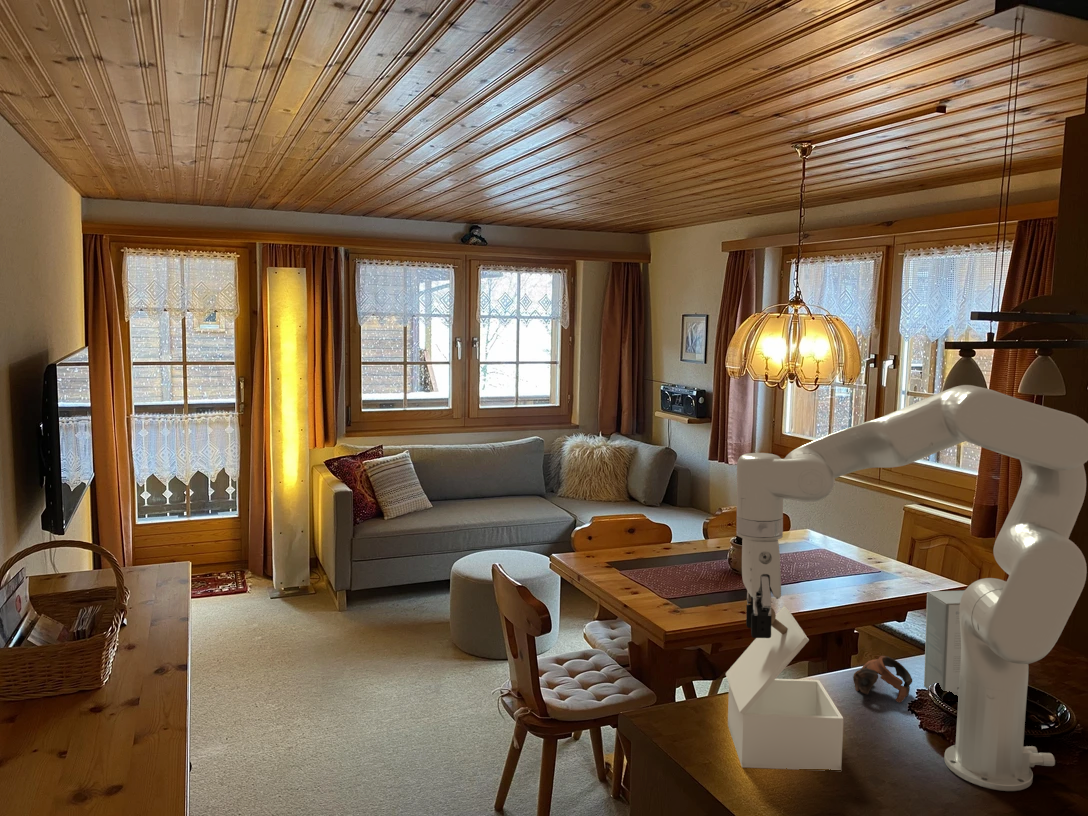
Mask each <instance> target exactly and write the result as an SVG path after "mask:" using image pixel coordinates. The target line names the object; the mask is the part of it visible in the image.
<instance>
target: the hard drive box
mask: <svg viewBox="0 0 1088 816" xmlns="http://www.w3.org/2000/svg"><path fill="white" fill-rule="evenodd" d="M965 590H966V589H964V590H940V591H939V590H936V591H933V590H932V591H926V610H925V611H926V615H925V616H926V618H925V641H924V642H925V646H924V647H925V649H924V650H925V651H924V674H923V675H924V677H923V687H925V688H926V689H927V688H929V686H930V685H932V684H933V683H939V685H940V687H941V689H942V690H943V691H947V692H949V691H950V692H952V693H953V694H954V695H957V696H959V678H960V665H961V632H960V619H959V607H960V601H961V598H962V595H963V593H964V591H965Z"/></svg>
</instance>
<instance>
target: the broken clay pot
mask: <svg viewBox="0 0 1088 816" xmlns="http://www.w3.org/2000/svg"><path fill="white" fill-rule="evenodd" d="M887 667H889V668H894V670H895V672H896V674H895V675H894V674H893V673H892V672H891V671H890V670H889V669H888V668H887ZM879 675H880V677H879ZM852 677H853V678H852V680H853V683H854V690H855V691H856V692H857V691H860V692H861V693H862V694H863V695H864V694H865V695H869V694H870V691H871V689H872V687H873V686H874V684H876V683H877V682H878V679H879V678H880V679H881V680H882V681H884V682H885V683H886V684H887V685H890V686H892V687H893V688H894V689H896V690H898V694H897V696H896V698H895V702H897V703H899V704H900V703H902V702H903V701H904V700H905V698H907V697H908V695H909V694H910V690H911V689H910V685H912V683H913V678H912V676H911V674H910V672H909V671H908V670H907V668H906V667H905V666H903V665H902V663H900V662H898V660H896V659H894V658H892V657H890V656H888V655H881V656H879V657H878V658H874V659H870V660H868V661H867V662H865V663H864V665H863V666H862V667H861V668H860V669H858V670H856V671H855V672H854V674H853V676H852ZM899 677H901V678H899Z"/></svg>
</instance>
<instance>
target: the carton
mask: <svg viewBox="0 0 1088 816" xmlns="http://www.w3.org/2000/svg"><path fill="white" fill-rule="evenodd" d="M727 700H728V707H727V709H728V710H727V726H728V730H729V733H730V736H731V739H732V742H733V744H734V747H735V750H736V754H737V757H738V760H739V763H740V766H741V768H749V769H750V768H751V769H772V770H773V769H774V770H775V769H778V770H799V769H829V770H830V769H831V770H841V771H842V760H843V738H844V737H843V735H844V717H843V715H842V714H841V713H840V710H839V709H838V708H837V706H836V705H835V703H834V701H833V699H832V698H831V696H830V695H829V693H828V691H827V689H825V687H824V685H823V684H822V682H821V681H820V679H795V678H794V679H792V678H776V679H775V680H774V681H773V682H772V683H771V684H770V685H769V687H768V688H767V689H766V690H765V691H764V692H763V693H762V695H761V696H760V697H759V698H758V699H757V700H756V701H755V703H754V704H753V705H752V706H751V707H750V708H749V709H748V711H747V712H746V713H745V714H744V715H743V714H742V713H740V711H739V709H738V706H737V703H736V701H735V698H734V695H733V693H732V690H731V687H730V685H729V684H728V699H727ZM786 768H787V769H786Z"/></svg>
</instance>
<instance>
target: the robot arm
mask: <svg viewBox="0 0 1088 816" xmlns="http://www.w3.org/2000/svg"><path fill="white" fill-rule="evenodd" d="M965 442H967V443H970V444H972V445H975V446H977V447H980V448H984V449H985V450H989V451H992V452H995V453H998V454H1000V455H1004V456H1006V457H1010V458H1014V459H1016V460H1019V462H1020V465H1021V471H1022V473H1021V474H1022V475H1021V477H1022V478H1021V483H1020V486H1019V489H1018V491H1017V494H1016V497H1015V499H1014V501H1013V504H1012V506H1011V508H1010V511H1008V514H1007V516H1006V519H1005V521H1004V523H1003V525H1002V527H1001V528H1000V531H999V533H998V535H997V537H996V539H995V542H994V545H993V551H992V552H993V553H992V554H993V557H994V560H995V561H996V563H997V565H998V566H999V567H1000V568H1001V569H1002V570H1003V572H1004V573H1006V574H1007V575H1008V578H1007V579H1006V580H1003V579H1000V578H994V577H985V578H980V579H977V580H975V581H973V582H972V583H971V584H969V585H967V588H965V589H964V590H965V591H964V590H963V591H964V593H963V595H962V598H961V601H960V607H959V619H960V632H961V665H960V678H959V696H958V702H957V714H956V715H957V718H956V729H955V730H956V733H955V735H956V736H955V744H953V745H951V746H949V747H947V748H946V749H945V752H944V756H943V757H944V762H945V765H946V766H947V768H948V769H949V770H950V771H951V772H952V773H954V774H955V775H956V776H958V777H959V778H961V779H963V780H965V781H966V782H968V783H972V784H974V785H976V786H979V787H983V788H985V789H990V790H995V791H1003V792H1004V791H1005V792H1017V791H1022V790H1025V789H1027V788H1029V787H1030V786H1031V785H1032V783H1033V778H1034V774H1033V771H1032V769H1031V768H1035V766H1041V767H1042V766H1043V767H1044V766H1045V767H1053V766H1055V765H1056V760H1055V756H1054V755H1053V754H1052V753H1051V752H1038V748H1037V747H1036V746H1033V745H1031V746H1030V745H1029V746H1028V745H1026V746H1024V740H1025V729H1026V728H1025V726H1026V725H1025V724H1026V723H1025V722H1026V713H1027V712H1026V711H1027V700H1028V699H1027V697H1028V686H1029V664H1033V663H1035V662H1038V661H1040V660H1042V659H1043V658H1045V657H1046V656H1047V655H1048V654H1049V653H1050V652H1051V651H1052V650H1053V648H1054V647H1055V645H1056V643H1057V642H1058V640H1059V638H1060V637H1061V635H1062V632H1063V630H1064V628H1065V626H1066V625H1067V622H1068V620H1069V618H1070V616H1071V615H1072V612H1073V610H1074V608H1075V606H1076V604H1077V602H1078V600H1079V598H1080V597H1081V594H1082V592H1083V589H1084V587H1085V584H1086V581H1087V573H1088V572H1087V562H1086V558H1085V556H1084V554H1083V552H1082V550H1081V549H1080V548H1079V546H1077V544H1075V542H1073V541H1072V540H1071V539H1069V538H1070V536H1071V533H1072V531H1073V529H1074V526H1075V525H1076V521H1077V519H1078V516H1079V513H1080V511H1081V509H1082V506H1083V503H1084V500H1085V496H1086V492H1087V474H1086V470H1085V463H1087V462H1088V422H1086V421H1085V420H1084V419H1083V418H1081V417H1079V415H1078V416H1077V415H1075V414H1072V413H1070V412H1069V413H1068V412H1065V411H1061V410H1058V409H1054V408H1051V407H1047V406H1044V405H1042V404H1041V405H1040V404H1036V403H1033V402H1031V401H1027V400H1023V399H1020V398H1017V397H1014V396H1011V395H1008V394H1006V393H1002V392H999V391H996V390H993V389H990V388H986V387H981V386H976V385H973V384H972V385H971V384H961V385H958V386H953V387H951V388H948V389H945V390H942V391H941V392H938V393H936V394H933V395H931V396H929V397H928V396H927V397H926V398H924V399H922V400H919V401H917V402H914V403H912V404H910V405H907V406H904V407H902V408H900V409H897V410H895V411H892V412H890V413H887V414H886V415H883V416H881V417H877V418H875V419H872V420H868V421H865V422H863V423H860V424H857V425H854V426H850V427H847V428H844V429H841V430H839V431H836V432H833V433H830V434H827V435H824V436H823V437H820V438H817V439H816V440H812V441H811V442H808V443H806V444H803V445H801V446H799V447H797V448H795V449H793V450H792V451H790V452H789V453H788V454H786V456H785V457H784V458H781V457H780V456H779V455H778V454H775V453H774V454H773V453H767V452H751V453H750V452H749V453H744V454H742V455H740V456H739V457H738V460H737V462H736V536H737V537H739V538H741V539H742V540H741V542H742V543H741V544H742V545H741V577H742V583H743V585H744V587H745V589H746V591H747V592H746V603H747V604H746V611H745V612H746V614H745V615H746V616H745V617H746V618H745V619H746V621H745V622H746V624H745V625H746V627H747V628H748V629H750V631H751V632H750V634H751V638H753V639H756V638H770V637H771V607H772V595H773V597H774V598H775V599H776V600H779V599H781V597H782V578H781V577H782V574H781V573H782V571H781V556H780V555H781V553H780V544H779V540H780V539H781V540H782V538H783V537H784V535H783V534H784V500H790V501H796V502H802V503H816V502H820V501H823V500H825V499H826V498H827V497H829V496H830V495H831V493H832V492H833V490H834V487H835V485H836V479H837V478H840V477H842V476H844V475H848V474H851V473H853V472H856V471H857V472H858V471H861V470H866V469H874V468H882V469H883V468H884V469H885V468H898V467H904V466H906V465H910V464H912V463H914V462H918V461H919V460H923V459H925V458H927V457H928V456H931V455H934V454H936V453H939V452H942V451H944V450H947V449H950V448H952V447H954V446H957V445H960V444H962V443H965Z"/></svg>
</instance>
